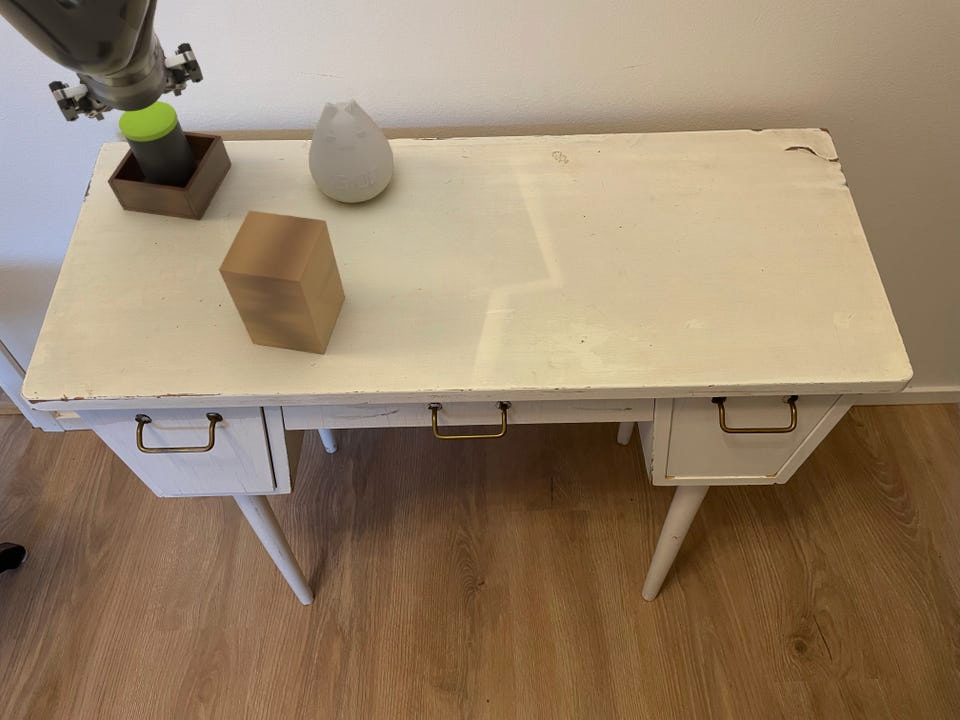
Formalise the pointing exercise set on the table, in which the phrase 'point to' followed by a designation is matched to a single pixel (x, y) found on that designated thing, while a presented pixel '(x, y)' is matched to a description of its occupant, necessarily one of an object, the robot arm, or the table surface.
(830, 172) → the table surface
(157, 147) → the ball tube
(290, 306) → the stand
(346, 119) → the toy character
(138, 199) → the bin
